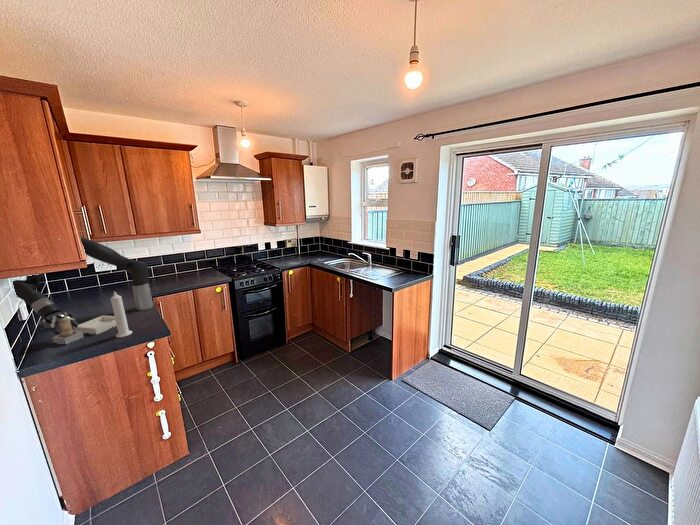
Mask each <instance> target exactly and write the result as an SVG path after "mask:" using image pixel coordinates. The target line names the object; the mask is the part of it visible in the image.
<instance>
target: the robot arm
mask: <svg viewBox="0 0 700 525" xmlns="http://www.w3.org/2000/svg"><path fill="white" fill-rule="evenodd" d="M79 236H80V235H79ZM80 237H81V241H82V244H83V246H84V249H85V253H86V254H85V255H86V256H88V257H90V258H92V259H94V260H97V261H99V262H103V263H104V264H105V263H106V264H107V265H112V266H115V267H117V268H119V269H122V270H123V271H126V272H128V273H129V274H131V276H132V280H131V282H130V283H131V287H132V291H133V297H134V300H135V306H136V310H137V311H145V310H149V309H152V308H153V307H154V303H153V298H152V292H151V289H150V288H151V287H150V283H149V279H150V275H149V268H148V266H147V264H146V263H145V262H144V261H140V260H135V259H131V258H128V257H126V256H124V255H121V254H120V253H119V252H117V251H116V250H114V249H113V248H110V247H109V246H107V245H104V244H103V243H102V244H101V243H99V242H97V241H94V240H92V239H88V238H85V237H83V236H80ZM43 275H44V273H43V274H39V275H32V276H26V279H24V280H23V279H22V280H21V279H15V280H13V285H14V289H15V292H16V295H17V296H16V297H17V298H19V299H20V300H23V301H24V302H25V303H27V305H29V306H30V308H31V309H32V310H33V311H34V313H36V314H37V315H38V316H39V317H40V318H41V319H39V320H38V322H37V325H38V326H39V327H40V328H41V329H42V330H43V331H44V332H48V331H51V332H52V333H53V334H54V335H56V336H57V335H60V334H61V331H60V329H58V328H57V327H56V326H55V325H59V324H58V320H60V319H63V318H69V319H70V322H71V326H72V327H75V328H76V327H78V325H79V323H78V322H77V318H78V316H77V315H76V314H75V313H73V312H72V311H71V310H69V309H68V310H67V311H66V312H63V311H61V309H60V308H59V307H58V306H57V305H56V304H55V303H54V302H53V301H52V300H50V299H49V298H47V296H46V295H45V294H43V293H42V292H40V291H37V289H38V288H39V286H40V283H41V279H42V276H43ZM48 324H49V325H48Z"/></svg>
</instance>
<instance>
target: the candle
mask: <svg viewBox="0 0 700 525" xmlns="http://www.w3.org/2000/svg"><path fill="white" fill-rule="evenodd" d="M110 302H111V306H112V311H113V316H115V320H116V324H117V326H116V328H117V332H118V333H116V335H115V337H116V338H118V339H119V338H125V337H127V336H131V335H132V334H133V331H132V330H130V329H129V325H128V321H127V320H128V319H127V316H126V312H125V307H124V303H123V298H122V295H120V294H119V295H118V294H117V292H116V291H113V295H112V296H111V297H110Z"/></svg>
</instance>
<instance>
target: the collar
mask: <svg viewBox="0 0 700 525" xmlns="http://www.w3.org/2000/svg"><path fill="white" fill-rule="evenodd" d="M80 338H81V339H83V338H85V336H84V333H83V332H82V331H74V330H73V334H72V335H70V336H67V337H62V335H61V333H60V334H59V335H57V334H56V335H55V336H53V337H52V342H53V344H54V343H57V344H56V345H62V344H67V345H69V344H71V343H70V342H72V343H74V342H76V341H79V340H81V339H80ZM78 339H79V340H78ZM75 340H76V341H75ZM73 341H74V342H73ZM68 343H69V344H68Z"/></svg>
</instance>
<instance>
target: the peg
mask: <svg viewBox="0 0 700 525" xmlns="http://www.w3.org/2000/svg"><path fill="white" fill-rule="evenodd" d="M57 325H58V327H59V331H60V334H61V335H62V337H67V336H70V335H72V334H73V331H74V329H73V325H72V324H71V322H70V319H69V318H63V319H60V320H58V324H57Z"/></svg>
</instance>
